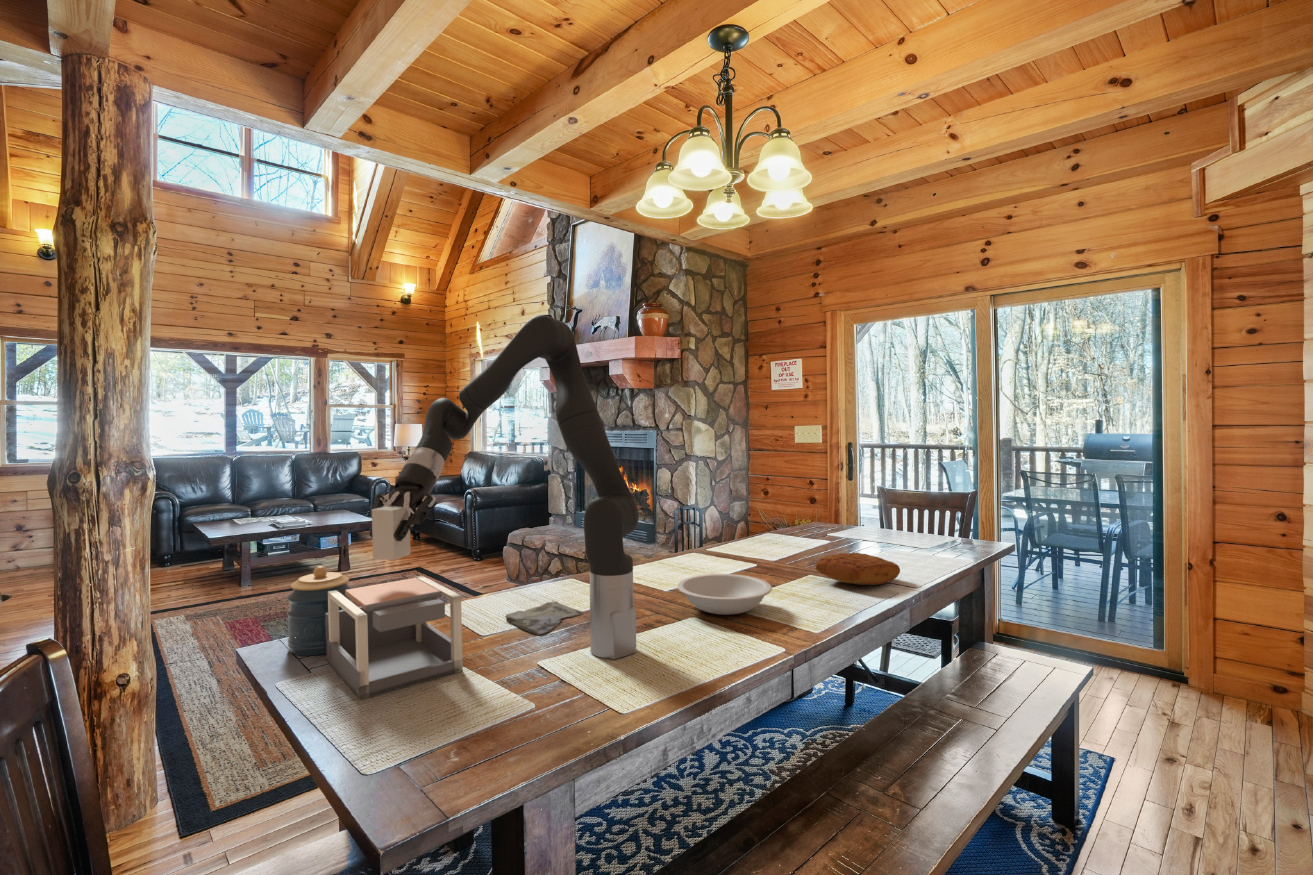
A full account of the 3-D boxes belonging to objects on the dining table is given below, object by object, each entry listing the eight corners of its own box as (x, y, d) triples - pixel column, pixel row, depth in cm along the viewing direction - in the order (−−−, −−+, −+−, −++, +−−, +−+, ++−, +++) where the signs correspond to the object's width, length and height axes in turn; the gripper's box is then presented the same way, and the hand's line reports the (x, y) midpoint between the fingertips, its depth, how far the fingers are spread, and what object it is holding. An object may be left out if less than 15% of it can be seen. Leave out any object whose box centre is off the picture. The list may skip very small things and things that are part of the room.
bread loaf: (856, 595, 173) (856, 567, 173) (809, 582, 187) (809, 555, 187) (905, 583, 185) (905, 556, 185) (858, 571, 199) (858, 547, 199)
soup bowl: (791, 614, 157) (791, 588, 157) (718, 633, 144) (718, 604, 144) (729, 592, 177) (729, 569, 177) (659, 607, 164) (659, 582, 163)
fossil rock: (550, 607, 166) (550, 598, 166) (592, 618, 157) (592, 609, 157) (497, 625, 152) (496, 615, 152) (540, 638, 143) (540, 628, 143)
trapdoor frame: (462, 670, 123) (461, 595, 123) (359, 699, 111) (357, 616, 110) (419, 639, 141) (417, 573, 141) (326, 661, 129) (324, 589, 128)
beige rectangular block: (410, 554, 130) (409, 506, 129) (394, 560, 125) (392, 510, 124) (389, 553, 131) (388, 505, 130) (373, 558, 126) (371, 509, 126)
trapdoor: (345, 609, 126) (345, 589, 126) (415, 596, 135) (415, 577, 135) (373, 633, 112) (373, 610, 112) (450, 616, 121) (449, 595, 121)
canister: (343, 631, 147) (341, 556, 146) (363, 645, 138) (361, 566, 137) (280, 645, 138) (278, 566, 137) (297, 662, 128) (295, 576, 128)
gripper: (384, 461, 136) (345, 526, 125) (442, 462, 132) (406, 529, 121) (400, 483, 141) (364, 547, 130) (456, 484, 138) (424, 550, 126)
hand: (385, 538), depth 126 cm, fingers closed on beige rectangular block, 5 cm apart
